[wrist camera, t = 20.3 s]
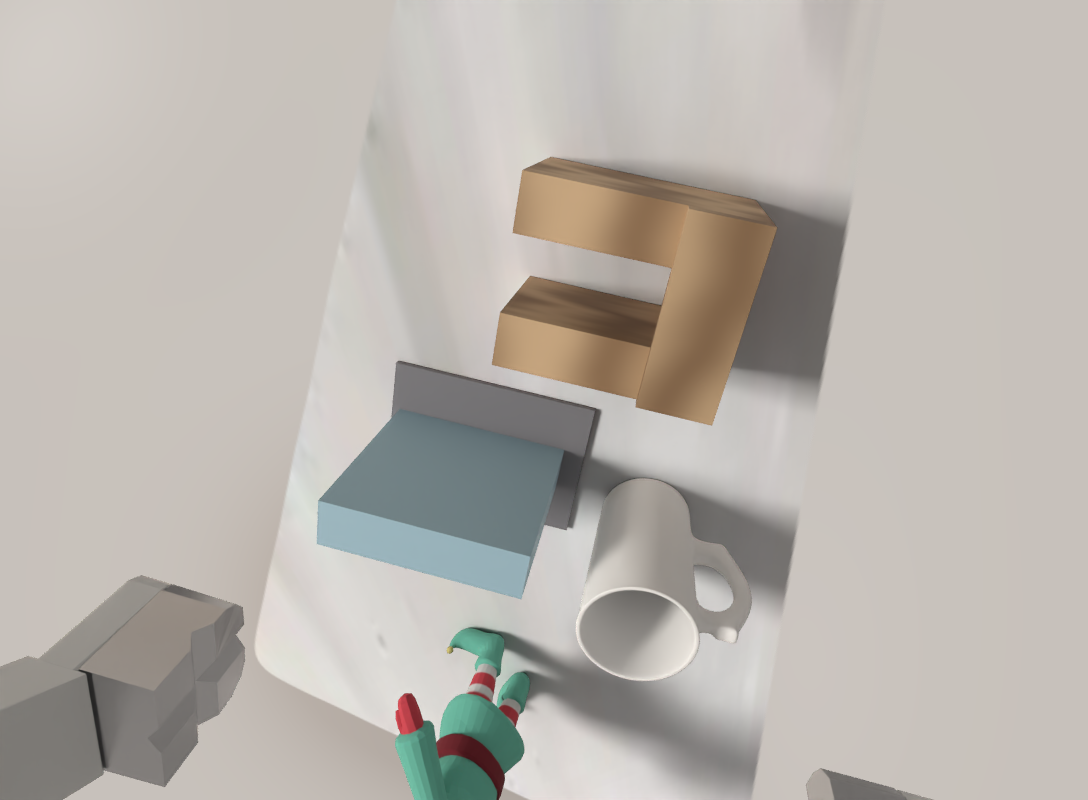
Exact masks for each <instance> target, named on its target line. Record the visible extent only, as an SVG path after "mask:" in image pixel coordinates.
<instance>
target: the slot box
mask: <svg viewBox="0 0 1088 800" xmlns="http://www.w3.org/2000/svg"><path fill="white" fill-rule="evenodd" d="M776 230H777V226H776V225H775V224H774V223H773V221H772V220H771V219H770V218H769V216H768V215H767V214H766V213H765V211H764V210H763V209H762V208H761V206H760V205H759V204H758V203H757V201H756V200H753V199H748V198H743V197H738V196H734V195H729V194H724V193H719V192H715V191H710V190H705V189H700V188H696V187H691V186H686V185H681V184H677V183H672V182H667V181H662V180H658V179H653V178H648V177H643V176H639V175H634V174H629V173H624V172H620V171H615V170H610V169H605V168H601V167H596V166H591V165H586V164H582V163H577V162H572V161H567V160H563V159H558V158H553V157H550V158H547V159H545V160H543V161H541V162H539V163H537V164H535V165H532V166H530V167H528V168H526V169H524V170H522V176H521V183H520V189H519V195H518V202H517V208H516V214H515V221H514V227H513V233H516V234H520V235H525V236H529V237H534V238H538V239H543V240H547V241H552V242H556V243H561V244H565V245H570V246H574V247H579V248H583V249H588V250H592V251H597V252H602V253H606V254H611V255H615V256H620V257H624V258H629V259H633V260H638V261H642V262H647V263H651V264H656V265H660V266H665V267H669V268H672V269H671V273H670V277H669V280H668V284H667V288H666V292H665V295H664V299H663V303H662V306H660V305H655V304H651V303H647V302H642V301H638V300H633V299H629V298H625V297H620V296H616V295H611V294H607V293H603V292H598V291H594V290H589V289H585V288H581V287H576V286H572V285H567V284H563V283H558V282H554V281H550V280H545V279H541V278H536V277H532V276H530V277H529V278H528V279H527V280H526V282H525V283H524V284H523V285H522V286H521V288H520V289H519V290H518V291H517V293H516V294H515V295H514V296H513V297H512V299H511V300H510V301H509V302H508V304H507V305H506V306H505V307H504V308H503V310H502V311H501V312H500V316H499V323H498V329H497V335H496V342H495V348H494V354H493V361H492V365H495V366H499V367H504V368H508V369H512V370H516V371H520V372H525V373H529V374H533V375H537V376H541V377H545V378H550V379H554V380H558V381H562V382H566V383H570V384H575V385H579V386H583V387H587V388H591V389H595V390H600V391H604V392H608V393H612V394H616V395H620V396H625V397H629V398H633V399H637V400H636V407H637V408H641V409H645V410H649V411H653V412H658V413H662V414H666V415H670V416H674V417H678V418H682V419H687V420H691V421H695V422H699V423H703V424H707V425H712V424H713V421H714V418H715V415H716V412H717V409H718V406H719V403H720V400H721V397H722V394H723V391H724V388H725V385H726V382H727V379H728V376H729V373H730V370H731V367H732V364H733V361H734V358H735V354H736V351H737V348H738V345H739V342H740V339H741V336H742V333H743V330H744V327H745V324H746V321H747V318H748V315H749V312H750V309H751V306H752V303H753V300H754V297H755V294H756V291H757V288H758V285H759V282H760V279H761V276H762V273H763V270H764V267H765V264H766V261H767V258H768V255H769V252H770V249H771V246H772V243H773V240H774V237H775V234H776Z"/></svg>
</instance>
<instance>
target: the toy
mask: <svg viewBox="0 0 1088 800" xmlns="http://www.w3.org/2000/svg"><path fill="white" fill-rule="evenodd" d="M453 648H460V649H464V650H466V651H469V652H471V653H473V654H475V655H478V656H479V658H478V659H477V661H476V663H475V669H476V673H475V675H474V677H473V679H472V682H471V684H470V686H469V688H468V690H467V692H466V694H461V695H458V696H456V697H455V698H454V699H453V700H451V701H450V702H449V704H448V706H447V708H446V710H445V711H444V713H443V717H442V721H441V727H440V738H439V740H438V741H437V743H436V738H435V731H434V725H433V724H432V722H430V721H423V719H422V716H421V712H420V709H419V707H418V704H417V702H416V699H415V697H414V696H413V695H412V693H405V694H404V695H403V696H402V697H401V698H400V699H399V701H398V709H399V710H397V711H396V721H397V725H398V729H399V731H400V734H399V735H398V737H397V738H396V741H395V746H396V750H397V752H398V755H399V758H400V760H401V763H402V766H403V768H404V771H405V774H406V777H407V780H408V782H409V785H410V788H411V791H412V794H413V796H414V799H415V800H499V798H500V796H501V792H502V789H503V785H504V781H505V775H504V774H505V773H506V772H507V771H508V770H509V769H511V768H512V767H513V766H514V765H515V764H516V763H518V762H519V761H520V760H521V758H522V756H523V754H524V744H523V740H522V738H521V736H520V734H519V733H518V731H517V730H516V728H515V727H516V723H517V720H518V717H519V714H521V713H522V712H523V711H524V708H525V703H526V698H527V695H528V692H529V688H530V680H529V677H528V676H527V675H526V674H525V673H522V672H518V673H515V674H514V675H512V676H511V677H510V678H509V680H508V681H507V682H506V683H505V684H504V685H503V687H502V688H501V690H500V693H499V696H498V701H497V706H495V705H494V704H493V703H492V700H493V694H494V688H495V682H496V677H498V676H499V675H500V672H501V660H502V656H503V652H504V639H503V638H502V637H501V636H500V635H498V634H494V633H485V632H483V631H480V630H477V629H473V628H466V629H464V630H461V631H460V632H458V633H457V634H456V635H455V637H454V638H453V639H452V641H451V643H450V646H449V647H448V648H447V653H449V654H450V653H452V652H453Z"/></svg>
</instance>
